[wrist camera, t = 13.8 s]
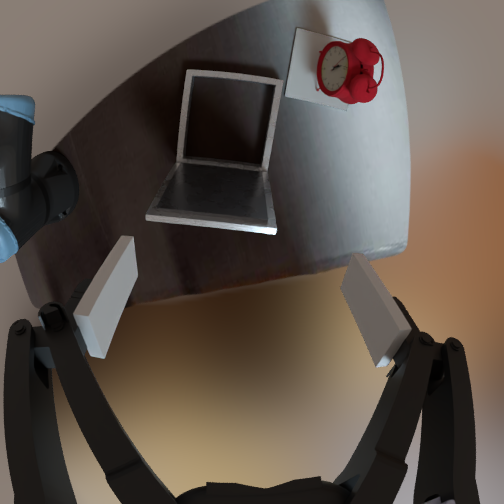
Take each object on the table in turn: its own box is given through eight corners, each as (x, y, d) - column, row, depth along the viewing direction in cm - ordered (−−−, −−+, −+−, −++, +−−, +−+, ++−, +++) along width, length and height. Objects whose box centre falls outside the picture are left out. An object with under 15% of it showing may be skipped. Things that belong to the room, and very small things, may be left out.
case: (179, 161, 45) (175, 164, 42) (189, 71, 37) (186, 69, 34) (265, 170, 47) (266, 175, 44) (281, 81, 39) (283, 80, 36)
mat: (284, 96, 40) (284, 96, 40) (296, 28, 34) (297, 28, 33) (346, 111, 41) (347, 111, 41) (357, 46, 35) (358, 45, 34)
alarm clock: (315, 43, 35) (347, 22, 22) (350, 50, 35) (393, 36, 22) (311, 99, 40) (342, 99, 27) (346, 104, 40) (388, 109, 27)
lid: (175, 160, 42) (175, 166, 43) (145, 211, 29) (146, 220, 30) (268, 170, 43) (266, 176, 44) (277, 225, 31) (275, 234, 32)
